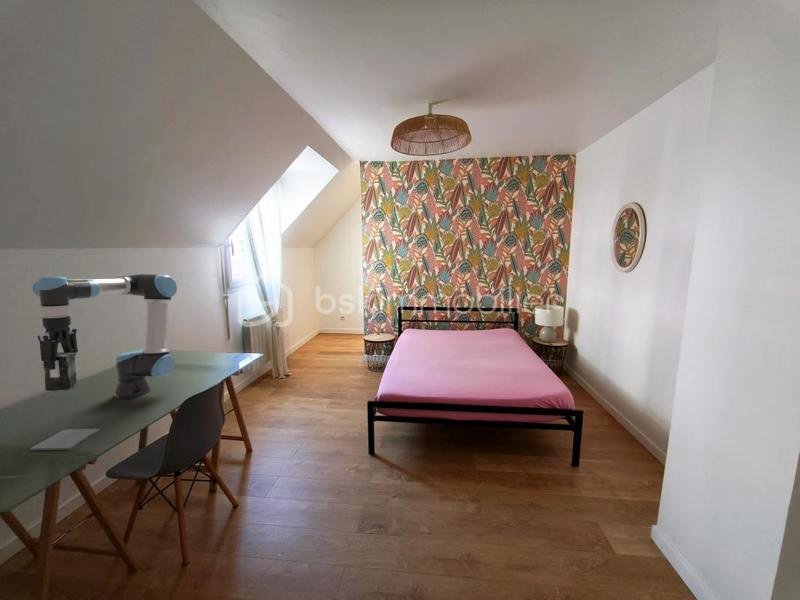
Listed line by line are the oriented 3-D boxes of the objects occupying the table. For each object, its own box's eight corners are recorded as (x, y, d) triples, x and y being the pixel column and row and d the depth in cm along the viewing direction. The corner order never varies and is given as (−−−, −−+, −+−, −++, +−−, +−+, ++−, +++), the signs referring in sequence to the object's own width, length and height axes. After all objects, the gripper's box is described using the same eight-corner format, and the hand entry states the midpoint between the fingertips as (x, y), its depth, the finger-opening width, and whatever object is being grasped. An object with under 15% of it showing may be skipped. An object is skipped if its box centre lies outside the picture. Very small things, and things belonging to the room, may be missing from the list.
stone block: (70, 391, 128) (81, 386, 134) (66, 355, 126) (78, 351, 132) (45, 391, 128) (57, 386, 133) (41, 355, 126) (54, 351, 131)
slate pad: (64, 431, 139) (64, 429, 139) (99, 430, 140) (99, 428, 140) (30, 450, 125) (29, 448, 125) (69, 449, 126) (69, 447, 126)
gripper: (67, 312, 136) (72, 367, 138) (20, 320, 118) (28, 383, 120) (87, 312, 136) (92, 367, 139) (43, 320, 118) (50, 382, 121)
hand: (62, 374), depth 130 cm, fingers closed on stone block, 5 cm apart
